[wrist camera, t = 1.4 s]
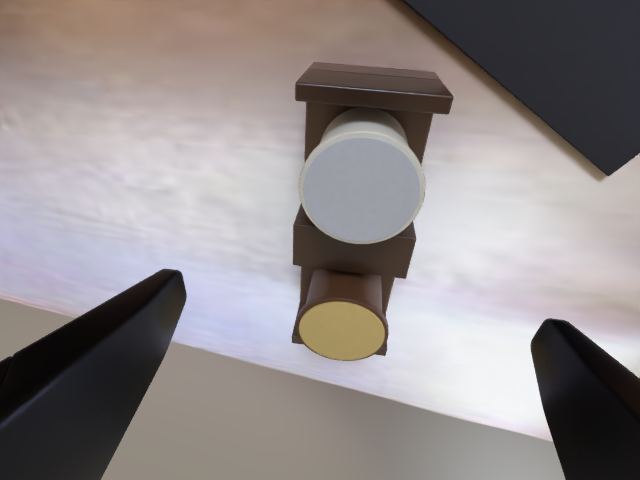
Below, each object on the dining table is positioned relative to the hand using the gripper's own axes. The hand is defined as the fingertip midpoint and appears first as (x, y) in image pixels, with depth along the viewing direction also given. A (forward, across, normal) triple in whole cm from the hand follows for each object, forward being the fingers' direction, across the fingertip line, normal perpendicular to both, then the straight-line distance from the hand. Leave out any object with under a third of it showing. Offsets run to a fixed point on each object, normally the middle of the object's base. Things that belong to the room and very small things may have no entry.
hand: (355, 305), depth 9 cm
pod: (+11, 0, +9) cm, 14 cm away
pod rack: (+13, 0, +4) cm, 14 cm away
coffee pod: (+11, 0, 0) cm, 11 cm away
